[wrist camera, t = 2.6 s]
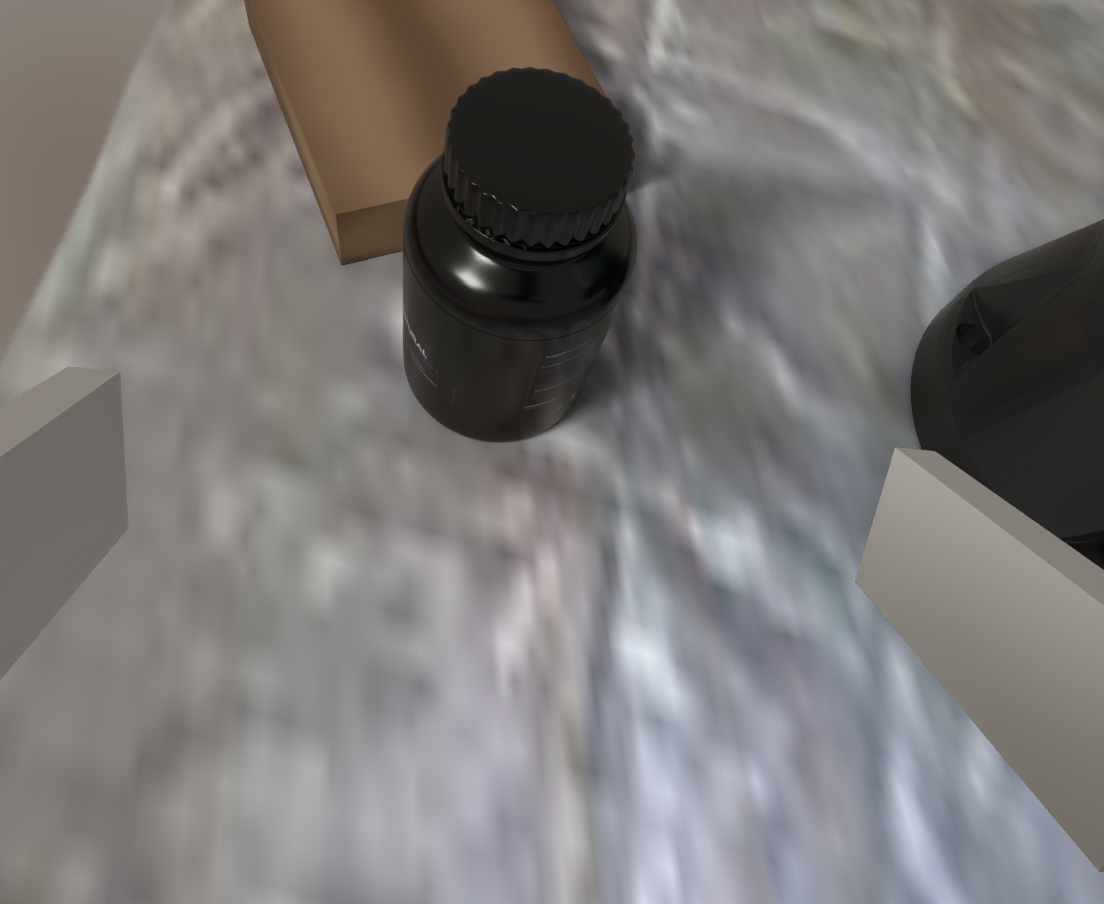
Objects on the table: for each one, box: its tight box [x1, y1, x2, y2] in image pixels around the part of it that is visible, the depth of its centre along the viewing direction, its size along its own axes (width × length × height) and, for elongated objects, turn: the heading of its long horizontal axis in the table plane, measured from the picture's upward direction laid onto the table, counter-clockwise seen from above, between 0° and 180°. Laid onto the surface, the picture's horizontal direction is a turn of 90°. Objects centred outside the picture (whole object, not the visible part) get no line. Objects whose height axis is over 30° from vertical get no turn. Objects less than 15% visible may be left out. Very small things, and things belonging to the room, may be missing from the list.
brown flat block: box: [244, 0, 634, 265], centre depth 34 cm, size 12×13×3 cm
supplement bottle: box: [403, 67, 637, 442], centre depth 26 cm, size 7×7×12 cm
